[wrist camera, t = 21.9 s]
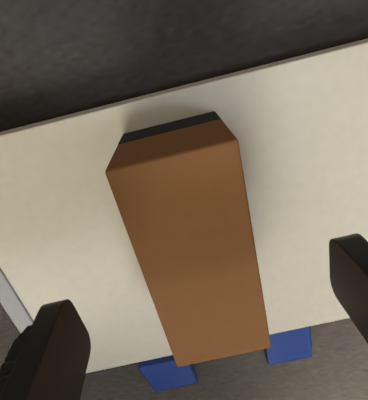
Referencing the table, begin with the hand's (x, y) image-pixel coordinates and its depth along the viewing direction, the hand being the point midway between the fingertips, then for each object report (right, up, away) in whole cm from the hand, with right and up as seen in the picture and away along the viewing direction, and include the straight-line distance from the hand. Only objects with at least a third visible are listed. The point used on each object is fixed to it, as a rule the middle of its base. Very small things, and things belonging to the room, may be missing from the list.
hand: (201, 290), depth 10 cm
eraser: (0, +2, +5) cm, 6 cm away
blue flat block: (+6, -6, +11) cm, 14 cm away
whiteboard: (0, +1, +7) cm, 7 cm away
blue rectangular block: (-1, -8, +11) cm, 14 cm away
